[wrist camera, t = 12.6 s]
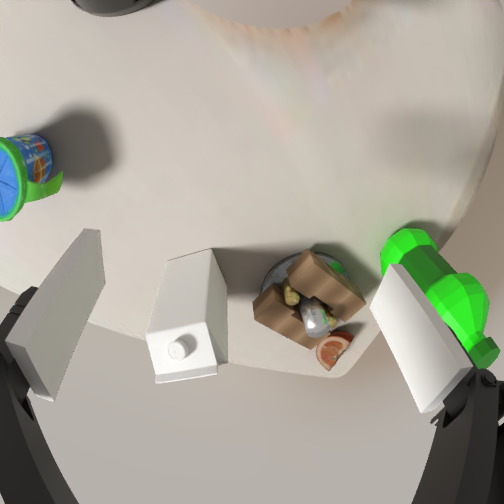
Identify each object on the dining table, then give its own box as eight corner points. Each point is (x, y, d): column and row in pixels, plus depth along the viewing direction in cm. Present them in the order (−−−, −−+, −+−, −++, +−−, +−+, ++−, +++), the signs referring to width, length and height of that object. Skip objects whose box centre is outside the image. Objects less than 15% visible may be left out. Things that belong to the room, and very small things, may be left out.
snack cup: (-5, 173, 33) (-45, 198, 24) (8, 110, 29) (-38, 124, 20) (67, 209, 38) (32, 243, 29) (86, 142, 33) (47, 163, 25)
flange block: (252, 302, 46) (254, 319, 43) (307, 248, 42) (314, 263, 39) (305, 332, 51) (310, 349, 47) (357, 287, 46) (366, 303, 43)
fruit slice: (335, 354, 57) (342, 373, 53) (306, 350, 56) (311, 370, 51) (356, 324, 53) (364, 344, 49) (326, 320, 52) (333, 340, 47)
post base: (271, 246, 43) (280, 284, 36) (358, 257, 45) (381, 292, 38) (254, 318, 50) (258, 360, 42) (331, 323, 52) (345, 361, 44)
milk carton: (227, 286, 46) (229, 391, 30) (184, 296, 47) (170, 399, 31) (211, 247, 43) (203, 351, 26) (166, 260, 43) (138, 363, 27)
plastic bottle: (376, 217, 42) (477, 337, 20) (430, 219, 43) (531, 319, 21) (364, 273, 47) (433, 400, 26) (415, 270, 48) (491, 378, 26)
